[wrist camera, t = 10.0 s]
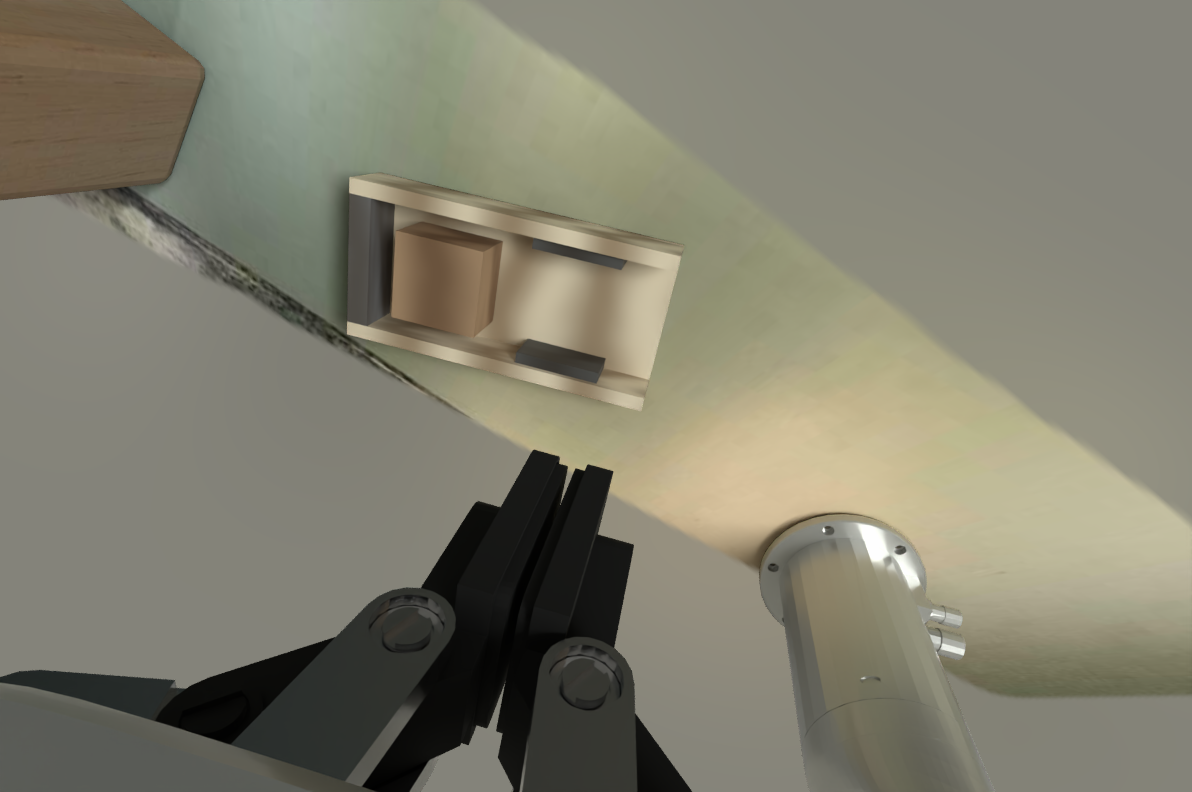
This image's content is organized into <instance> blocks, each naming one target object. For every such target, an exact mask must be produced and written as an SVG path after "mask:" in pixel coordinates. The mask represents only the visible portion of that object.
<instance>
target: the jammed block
mask: <svg viewBox="0 0 1192 792" xmlns="http://www.w3.org/2000/svg"><path fill="white" fill-rule="evenodd" d="M502 246H503V241H500V240H496V239H492V238H488V237H484V236H480V235H476V234H472V233H468V232H463V231H459V230H455V229H451V228H447V227H443V226H439V225H435V224H431V223H426V222H420V223H417V224H414V225H411V226H408V227H405V228H402V229H399V230H396V233H395V253H394V273H393V293H392V313H391V317H393V318H397V319H401V320H405V321H409V322H413V323H417V324H421V325H424V326H428V327H432V328H436V329H440V330H444V331H448V332H452V333H456V334H459V335H463V336H467V337H471V338H474V337H475V336H476V335H478V334H479V333H480V332H481V331H482V330H483V329H484V328H485V327H487V326H488V325H489V324H490V323H491V322H492V321H493V316H494V308H495V300H496V292H497V284H498V277H499V269H500V261H501V253H502Z"/></svg>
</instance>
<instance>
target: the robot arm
mask: <svg viewBox="0 0 1192 792" xmlns="http://www.w3.org/2000/svg"><path fill="white" fill-rule="evenodd" d="M559 460H560V457H559V456H555V455H552V454H548V453H544V452H541V451H537V450H533V451H532V452H531V454H530V456H529V458H528V460H527V461H526V464H525V465H524V467H523V469H522V470H521V472H520V474H519V476H518V478H517V479H516V481H515V483H514V485H513V487H512V488H511V490H510V492H509V493H508V495H507V497H506V499H505V501H504V502H503V504H502V506H501V507H497V506H494V505H490V504H486V503H483V502H480V501H478V502H476V503H475V504H474V506H473V507H472V508H471V510H470V511H469V513H468V514H467V516H466V518H465V519H464V521H463V522H462V524H461V525H460V527H459V529H458V530H457V532H456V533H455V535H454V537H453V538H452V540H451V541H450V543H449V544H448V546H447V548H446V549H445V551H444V552H443V554H442V555H441V557H440V558H439V560H438V562H437V563H436V565H435V566H434V568H433V569H432V571H431V573H430V574H429V576H428V578H427V579H426V580H425V582H424V584H423V585H422V587H421V588H408V587H406V588H401V589H395V590H391V591H389V592H387V593H384V594H382V595H380V596H378V597H377V598H375V599H374V600H373V601H371V602H370V603H369V604H368V605H367V606H366V607H365V608H364V609H363V610H362V611H361V612H360V613H359V614H358V615H357V616H356V617H355V618H354V619H353V620H352V621H351V622H350V623H349V624H348V625H347V626H346V627H345V628H344V629H343V630H342V631H341V632H340V633H339V634H338V635H337V636H336V637H334V638H331V639H328V640H325V641H322V642H319V643H316V644H313V645H309V646H306V647H303V648H300V649H297V650H294V651H290V652H288V653H284V654H281V655H278V656H275V657H272V658H269V659H265V660H262V661H259V662H256V663H253V664H250V665H247V666H244V667H241V668H237V669H234V670H231V671H228V672H225V673H222V674H219V675H216V676H213V677H210V678H207V679H205V680H202V681H200V682H198V683H196V684H193V685H191V686H189V687H188V688H186V689H184V688H176V683H175V680H167V679H153V678H141V677H127V676H114V675H101V674H87V673H73V672H61V671H48V670H32V671H19V672H15V673H12V674H9V675H6V676H2V677H0V792H421V790H422V789H423V787H424V785H425V784H426V782H427V781H428V779H429V777H430V776H431V774H432V772H433V770H434V768H435V766H436V763H437V761H438V756H439V755H441V754H443V753H445V752H448V751H450V750H452V749H454V748H456V747H458V746H460V745H461V743H463V744H466V745H469V743H470V740H471V738H472V735H473V733H474V730H475V728H476V725H477V726H481V727H484V728H487V727H488V725H489V723H490V720H491V718H492V715H493V713H494V710H495V707H496V705H497V702H498V699H499V697H500V694H501V692H502V689H503V686H504V684H505V687H504V692H503V697H502V703H501V708H500V714H499V718H498V724H497V729H496V731H497V732H500V733H503V735H502V740H501V745H500V750H499V755H498V759H499V760H500V762H501V764H502V766H503V768H504V770H505V772H506V774H507V776H508V778H509V780H510V782H511V784H512V786H513V788H512V792H692V791H691V789H690V788H689V787H688V785H687V784H686V783H685V781H684V780H683V778H682V777H681V776H680V774H679V773H678V772H677V770H676V769H675V767H674V766H673V765H672V763H671V762H670V761H669V759H668V758H667V756H666V755H665V754H664V752H663V751H662V750H661V748H660V747H659V745H658V744H657V743H656V741H655V740H654V739H653V737H652V736H651V734H650V733H649V732H648V730H647V729H646V727H645V726H644V725H643V723H642V722H641V721H640V719H639V718H638V716H637V715H636V714H635V691H634V680H633V675H632V670H631V669H630V667H629V665H628V663H627V661H626V660H625V658H624V657H623V656H622V655H621V654H620V653H619V652H618V651H617V650H616V649H615V648H614V645H615V641H616V635H617V630H618V625H619V620H620V615H621V609H622V605H623V599H624V594H625V589H626V584H627V579H628V573H629V569H630V563H631V558H632V553H633V548H634V545H633V544H629V543H626V542H622V541H619V540H615V539H612V538H608V537H605V536H601V535H598V531H599V527H600V523H601V519H602V515H603V511H604V507H605V503H606V499H607V495H608V491H609V487H610V483H611V479H612V475H613V471H611V470H607V469H603V468H600V467H596V466H592V465H589V464H588V465H587V467H586V469H585V471H583V470H580V469H575V471H574V473H573V475H572V478H571V481H570V483H569V486H568V488H567V491H566V493H565V495H564V498H563V500H562V503H561V498H562V493H563V489H564V484H565V479H566V475H567V469H568V466H565V465H561V464H559ZM560 503H561V505H560ZM759 578H760V589H761V595H762V598H763V600H764V603H765V605H766V607H767V608H768V610H769V611H770V613H771V614H772V616H773V617H774V618H775V619H776V620H777V621H778V622H779V623H780V624H781V625H783V626H784V627H785V632H786V639H787V647H788V654H789V661H790V669H791V676H792V683H793V691H794V698H795V705H796V713H797V720H798V727H799V735H800V742H801V750H802V756H803V763H804V770H805V775H806V780H807V784H808V788H809V791H810V792H995V790H994V788H993V785H992V783H991V781H990V779H989V776H988V774H987V772H986V769H985V767H984V765H983V762H982V760H981V758H980V755H979V753H978V751H977V748H976V745H975V743H974V741H973V738H972V736H971V733H970V731H969V729H968V726H967V724H966V721H965V719H964V717H963V714H962V712H961V709H960V707H959V705H958V702H957V700H956V698H955V695H954V693H953V690H952V688H951V685H950V683H949V681H948V678H947V676H946V673H945V671H944V669H943V666H942V664H941V661H940V659H939V657H938V655H942V656H946V657H949V658H953V659H956V660H958V659H961V658H962V657H963V655H964V652H965V640H964V638H963V636H962V635H961V634H957V633H954V632H950V631H946V630H943V629H939V628H932V627H928V626H926V625H925V624H926V622H927V621H929V620H931V621H935V622H938V623H939V624H943V625H946V626H950V627H953V628H959V627H960V626H961V624H962V618H963V616H962V613H961V612H960V610H957V609H953V608H950V607H946V606H939V605H936V604H932V603H931V601H930V600H929V599H928V598H927V597H926V595H925V594H926V585H927V578H926V572H925V568H924V565H923V563H922V561H921V558H920V556H919V554H918V553H917V551H916V549H915V548H914V546H913V545H912V544H911V543H910V541H909V540H908V539H907V538H906V537H905V536H904V535H903V534H901V533H900V532H898V531H897V530H895V529H894V528H893V527H891V526H889V525H887V524H885V523H882V522H880V521H878V520H875V519H871V518H867V517H864V516H858V515H848V514H837V515H826V516H821V517H815V518H812V519H809V520H806V521H803V522H801V523H798V524H796V525H795V526H793V527H791V528H789V529H788V530H786V531H785V532H783V533H782V534H781V535H780V536H779V537H777V538H776V539H775V540H774V541H773V543H772V544H771V545H770V546H769V548H768V549H767V551H766V553H765V555H764V557H763V559H762V562H761V566H760V571H759ZM505 681H506V682H505Z"/></svg>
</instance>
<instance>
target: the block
mask: <svg viewBox="0 0 1192 792" xmlns="http://www.w3.org/2000/svg"><path fill="white" fill-rule="evenodd" d="M204 78H205V74H204V68H203V66H202V65H201V63H200V62H199V61H198V60H197V59H195V58H194V57H193V56H192V55H190V54H189V53H188V52H186V51H185V50H184V49H183V48H181V47H180V46H179V45H178V44H176V43H175V42H174V41H172V40H171V39H170V38H169V37H167V36H166V35H165V34H163V33H162V32H161V31H160V30H158V29H157V28H156V27H154V26H153V25H152V24H151V23H149V22H148V21H147V20H146V19H144V18H143V17H142V16H140V15H139V14H138V13H137V12H135V11H134V10H133V9H131V8H130V7H129V6H128V5H126V4H125V3H124V2H123V1H121V0H0V200H8V199H16V198H26V197H35V196H45V195H54V194H63V193H72V192H82V191H91V190H100V189H109V188H119V187H128V186H137V185H147V184H156V183H161V182H163V181H164V180H166V179H167V178H168V177H169V176H170V175H171V172H172V169H173V167H174V164H175V161H176V158H177V155H178V152H179V149H180V147H181V144H182V141H183V138H184V135H185V132H186V129H187V127H188V124H189V121H190V118H191V115H192V112H193V109H194V107H195V104H196V101H197V98H198V95H199V92H200V89H201V87H202V84H203V81H204Z"/></svg>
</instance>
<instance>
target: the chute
mask: <svg viewBox="0 0 1192 792" xmlns="http://www.w3.org/2000/svg"><path fill="white" fill-rule="evenodd" d="M420 222H426V223H431V224H435V225H439V226H443V227H447V228H451V229H455V230H459V231H463V232H468V233H472V234H476V235H480V236H484V237H488V238H492V239H496V240H500V241H503V246H502V253H501V261H500V269H499V277H498V284H497V292H496V300H495V308H494V316H493V321H492V322H491V323H490V324H489V325H488V326H487V327H485V328H484V329H483V330H482V331H481V332H480V333H479V334H478V335H476V336H475V337H474V338H471V337H467V336H463V335H459V334H456V333H452V332H448V331H444V330H440V329H436V328H432V327H428V326H424V325H421V324H417V323H413V322H409V321H405V320H401V319H397V318H393V317H391V313H392V293H393V273H394V253H395V233H396V230H399V229H402V228H405V227H408V226H411V225H414V224H417V223H420ZM683 249H684V245H682V244H678V243H674V242H670V241H665V240H661V239H657V238H653V237H649V236H644V235H640V234H636V233H632V232H628V231H623V230H619V229H615V228H611V227H607V226H602V225H598V224H594V223H590V222H586V221H581V220H577V219H573V218H569V217H565V216H560V215H556V214H552V213H548V212H544V211H539V210H535V209H531V208H527V207H523V206H518V205H514V204H510V203H506V202H502V201H497V200H493V199H489V198H485V197H481V196H476V195H472V194H468V193H464V192H460V191H455V190H451V189H447V188H443V187H439V186H435V185H430V184H426V183H422V182H418V181H414V180H409V179H405V178H401V177H397V176H393V175H388V174H384V173H374V174H368V175H361V176H354V177H350V181H349V243H348V304H347V334H348V335H352V336H356V337H360V338H363V339H367V340H371V341H375V342H379V343H383V344H386V345H390V346H394V347H398V348H402V349H405V350H409V351H413V352H417V353H421V354H425V355H428V356H432V357H436V358H440V359H444V360H447V361H451V362H455V363H459V364H463V365H467V366H470V367H474V368H478V369H482V370H486V371H490V372H493V373H497V374H501V375H505V376H509V377H512V378H516V379H520V380H524V381H528V382H532V383H535V384H539V385H543V386H547V387H551V388H554V389H558V390H562V391H566V392H570V393H574V394H577V395H581V396H585V397H589V398H593V399H596V400H600V401H604V402H608V403H612V404H616V405H619V406H623V407H627V408H631V409H635V410H638V411H641V409H642V406H643V402H644V398H645V394H646V390H647V386H648V383H649V379H650V375H651V371H652V367H653V363H654V360H655V356H656V352H657V348H658V344H659V341H660V337H661V333H662V329H663V325H664V321H665V318H666V314H667V310H668V306H669V302H670V298H671V295H672V291H673V287H674V283H675V279H676V275H677V272H678V268H679V264H680V260H681V256H682V252H683Z"/></svg>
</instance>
